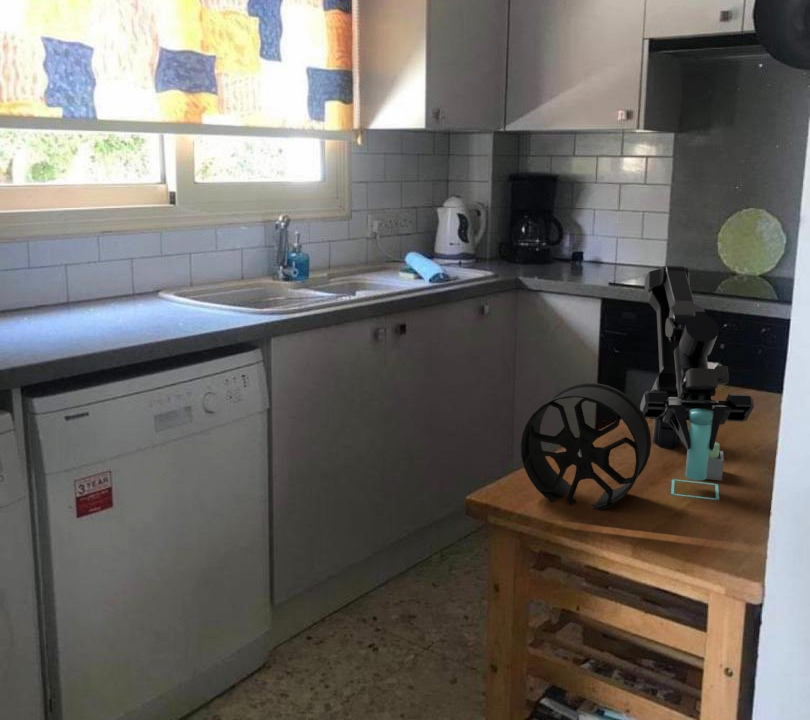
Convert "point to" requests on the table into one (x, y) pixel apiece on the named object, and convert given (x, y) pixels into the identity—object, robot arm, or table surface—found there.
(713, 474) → the button housing
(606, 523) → the table surface
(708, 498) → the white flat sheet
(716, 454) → the button
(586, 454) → the car wheel rim
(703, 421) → the teal round-topped cylinder
